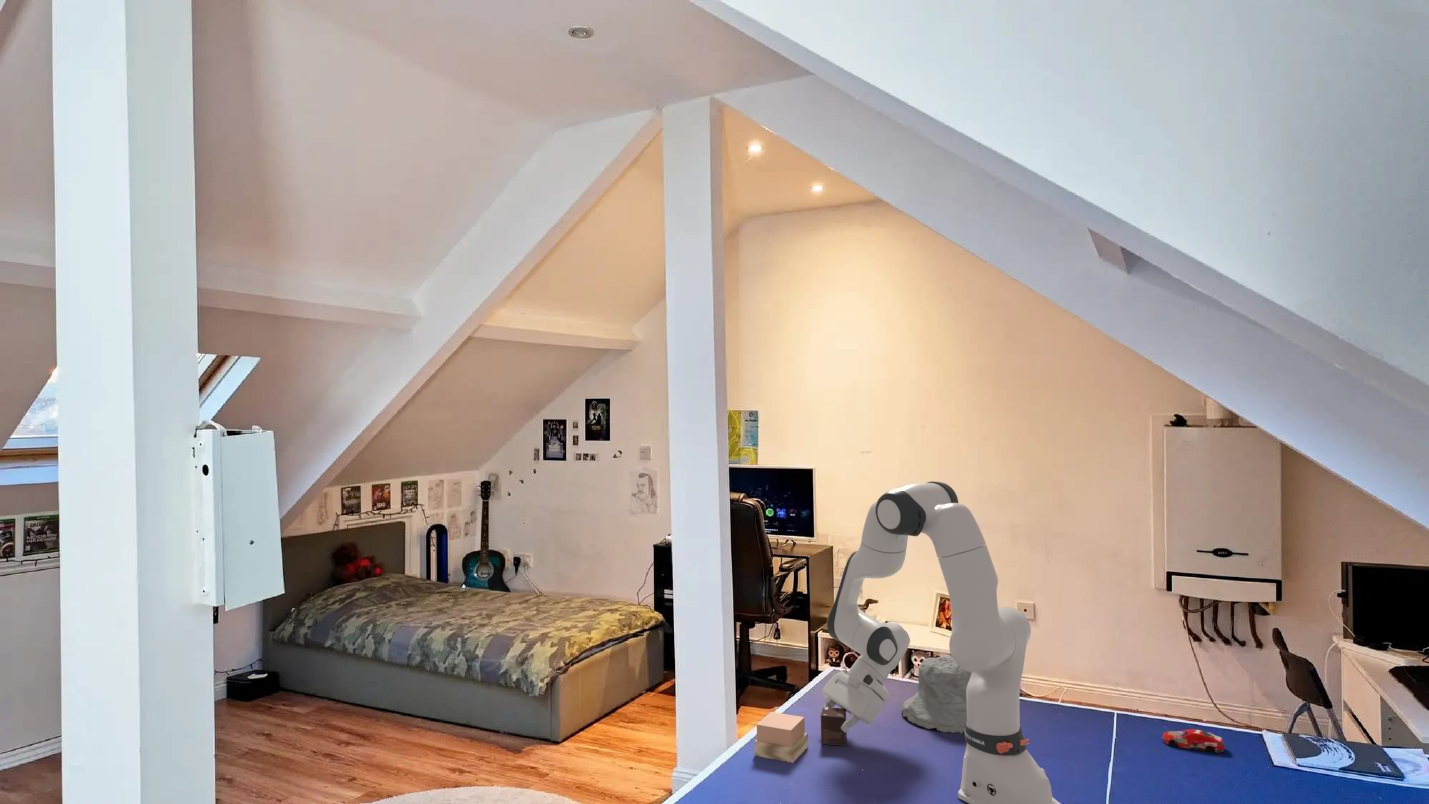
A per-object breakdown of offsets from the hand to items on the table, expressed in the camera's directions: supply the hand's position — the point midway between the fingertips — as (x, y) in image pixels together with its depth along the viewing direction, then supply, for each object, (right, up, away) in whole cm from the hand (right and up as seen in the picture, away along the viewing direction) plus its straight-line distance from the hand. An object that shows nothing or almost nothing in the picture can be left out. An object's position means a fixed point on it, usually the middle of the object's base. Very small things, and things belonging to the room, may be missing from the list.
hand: (832, 723), depth 211 cm
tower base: (-13, -5, -5) cm, 15 cm away
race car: (+87, -3, -8) cm, 87 cm away
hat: (+34, -4, +14) cm, 37 cm away
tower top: (-13, -1, -5) cm, 14 cm away
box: (0, -5, 0) cm, 5 cm away
